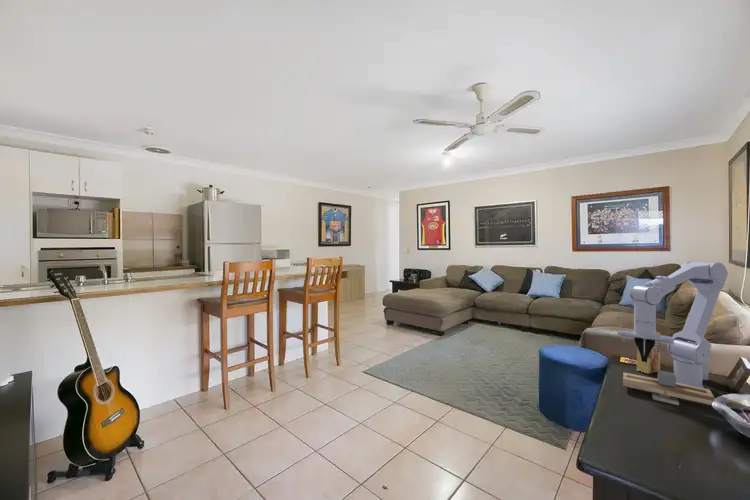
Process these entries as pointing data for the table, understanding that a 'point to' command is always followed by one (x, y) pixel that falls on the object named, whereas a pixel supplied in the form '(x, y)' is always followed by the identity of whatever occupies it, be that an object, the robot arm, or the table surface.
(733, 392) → the table surface
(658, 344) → the candy box
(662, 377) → the block
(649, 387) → the tan slotted track
